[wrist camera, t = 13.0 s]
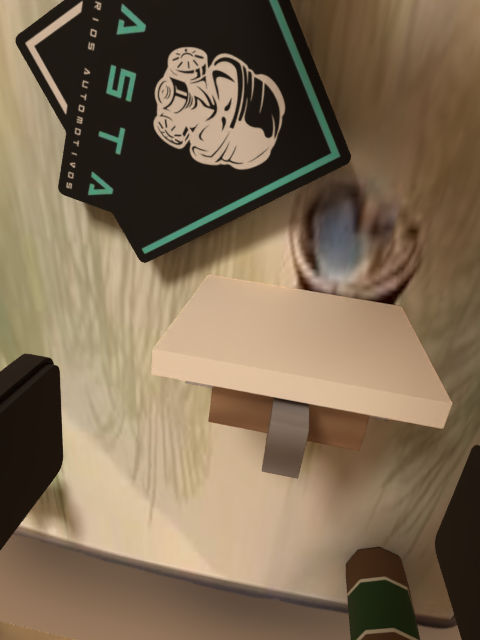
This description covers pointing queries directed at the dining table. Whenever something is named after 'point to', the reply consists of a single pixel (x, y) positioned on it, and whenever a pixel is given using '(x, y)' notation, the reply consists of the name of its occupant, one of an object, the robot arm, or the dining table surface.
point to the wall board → (303, 350)
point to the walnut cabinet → (286, 426)
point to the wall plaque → (182, 110)
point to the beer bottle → (379, 597)
